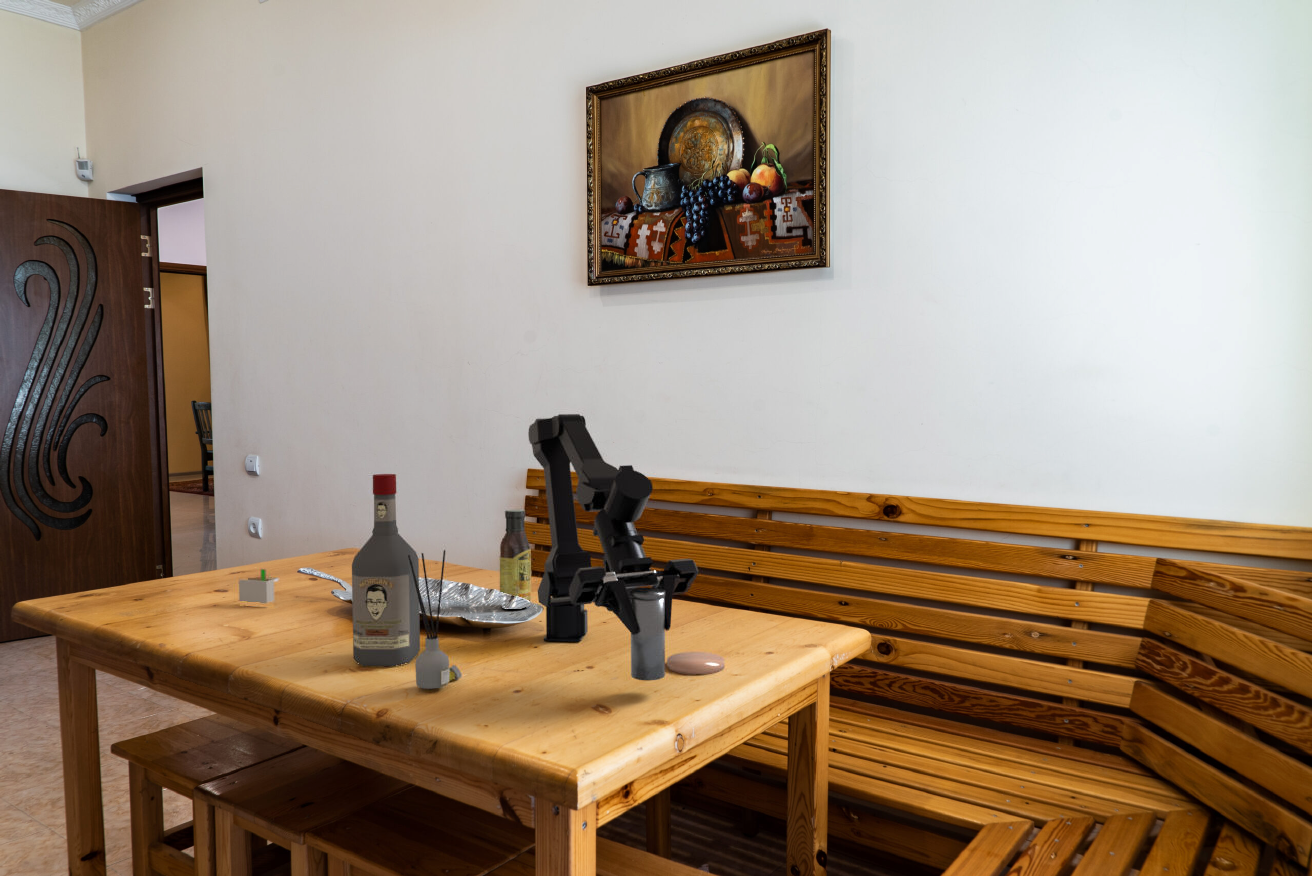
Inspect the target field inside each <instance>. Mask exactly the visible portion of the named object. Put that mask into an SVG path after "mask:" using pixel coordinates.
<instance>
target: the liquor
mask: <svg viewBox="0 0 1312 876" xmlns="http://www.w3.org/2000/svg"><path fill="white" fill-rule="evenodd" d="M396 494H397V474H395V473H380V474H376V473H375V474H372V495H373V529H372V535H371V536H370V538H368V539H367V541H366V542H365V543H364V545H363V546H362V548H360V549H359V551H358V552H357V553H356V554H355V556H354V558H353V560H352V563H351V589H352V591H351V594H352V597H351V599H352V600H351V601H352V603H351V604H352V605H351V606H352V649H353V650H352V655H353V656H352V657H353V660H354V661H355V663H356V662H357V663H359V664H361V665H363V666H396V665H400V666H402V665H401V664H405V663H408V664H410V663H411V662H410V661H411V660H412V659H413V658H414V657H415V656H416V655H417V656H418V654H419V652H420V650H421V643H420V642H421V637H420V636H421V635H420V634H421V631H420V630H421V629H420V627H421V625H420V623H421V622H420V604H419V599H418V595H417V591H416V586H415V582H414V578H413V573H412V569H411V565H410V562H409V558H408V555H410V558H411V560H412V565H413V569H414V572H415V576H416V580H417V583H418V587H419V588H420V563H419V557H418V554H417V551H415V549H414V548H413V547H412V546H411V545H410V544H409V543H408V542H407V541H406V540H405V539H404V538H403V537H402V536H401V534H400V533H399V528H398V526H397V510H396V509H397V507H396V504H397V503H396ZM417 656H416V657H417ZM416 657H415V658H416ZM415 658H414V659H415ZM414 659H413V660H414ZM413 660H412V661H413ZM357 663H356V664H357ZM359 664H358V665H359ZM361 665H360V666H361ZM405 665H406V664H405ZM363 666H362V667H363ZM396 667H397V666H396Z"/></svg>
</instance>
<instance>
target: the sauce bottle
mask: <svg viewBox="0 0 1312 876" xmlns="http://www.w3.org/2000/svg"><path fill="white" fill-rule="evenodd" d="M504 516H505V534H504V536H503V538H502V539H501V542H500V544H499V545H500V548H499V550H500V551H499V553H500V555H499V593H500V592H503V593H507V594H511V595H513V596H519V597H522V598H525V599H527V600H529V601H530V602H531V599H532V596H531V594H532V593H531V591H532V583H531V582H532V581H531V580H532V572H531V571H532V563H531V561H532V558H531V557H532V552H531V551H532V549H531V546H530V543H529V539H528V537H527V534H526V528H525V518H526V510H525V509H506V510H504Z"/></svg>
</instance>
